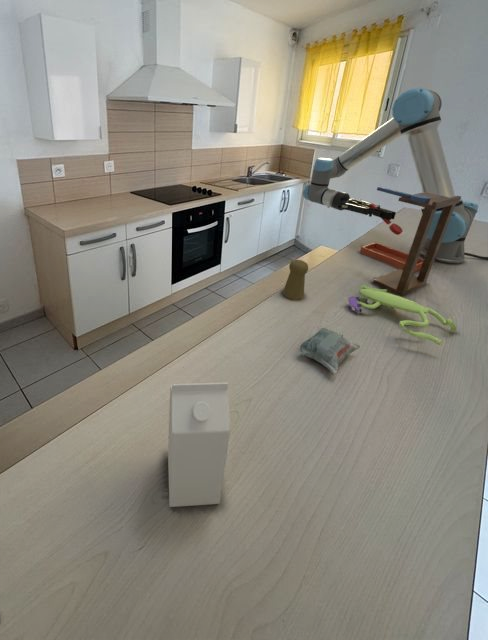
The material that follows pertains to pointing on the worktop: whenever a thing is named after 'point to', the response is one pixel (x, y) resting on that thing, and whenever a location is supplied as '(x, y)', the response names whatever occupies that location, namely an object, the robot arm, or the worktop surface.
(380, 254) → the tray
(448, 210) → the slanted wooden stand
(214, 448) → the milk carton
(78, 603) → the worktop surface
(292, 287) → the cork
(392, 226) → the red spoon
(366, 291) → the figurine
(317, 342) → the packaged food
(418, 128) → the robot arm
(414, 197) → the blue spoon
